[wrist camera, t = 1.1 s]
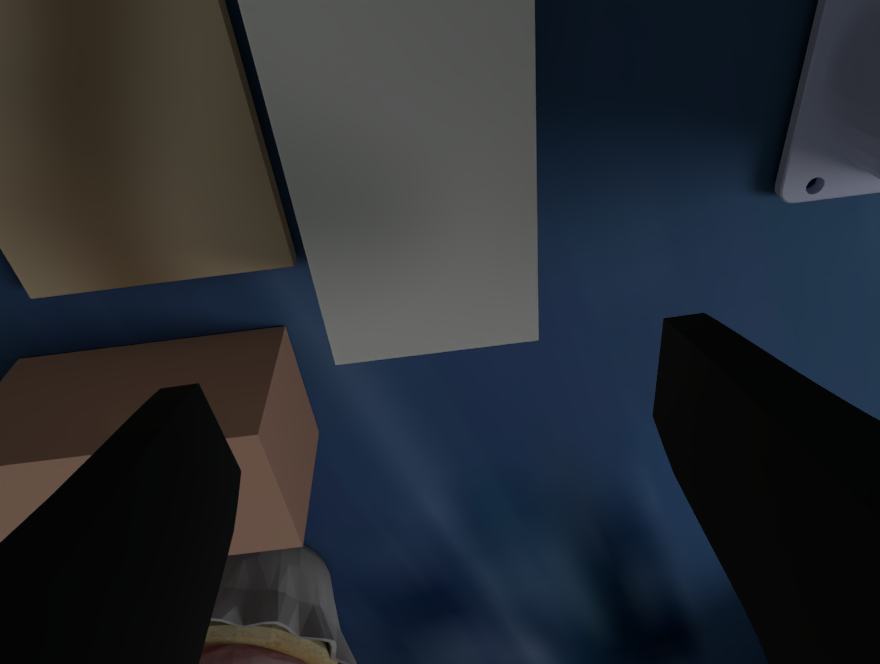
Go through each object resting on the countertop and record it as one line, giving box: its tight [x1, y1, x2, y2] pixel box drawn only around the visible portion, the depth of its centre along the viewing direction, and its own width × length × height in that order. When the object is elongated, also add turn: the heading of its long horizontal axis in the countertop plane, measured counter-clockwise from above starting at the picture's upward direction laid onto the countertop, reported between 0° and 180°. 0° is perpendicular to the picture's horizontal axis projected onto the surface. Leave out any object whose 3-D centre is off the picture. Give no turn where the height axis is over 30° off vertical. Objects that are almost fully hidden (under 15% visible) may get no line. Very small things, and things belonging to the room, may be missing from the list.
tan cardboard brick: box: [0, 326, 319, 555], centre depth 19 cm, size 9×5×5 cm, turn 96°
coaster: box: [0, 0, 297, 299], centre depth 16 cm, size 8×8×1 cm
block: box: [238, 0, 539, 365], centre depth 14 cm, size 9×5×5 cm, turn 6°
